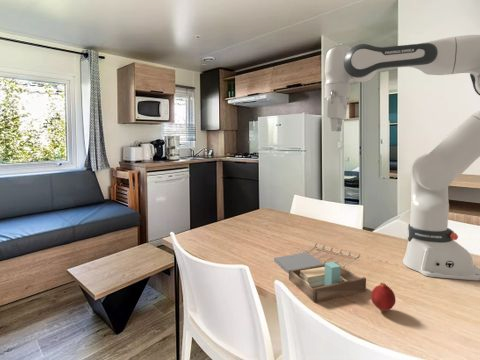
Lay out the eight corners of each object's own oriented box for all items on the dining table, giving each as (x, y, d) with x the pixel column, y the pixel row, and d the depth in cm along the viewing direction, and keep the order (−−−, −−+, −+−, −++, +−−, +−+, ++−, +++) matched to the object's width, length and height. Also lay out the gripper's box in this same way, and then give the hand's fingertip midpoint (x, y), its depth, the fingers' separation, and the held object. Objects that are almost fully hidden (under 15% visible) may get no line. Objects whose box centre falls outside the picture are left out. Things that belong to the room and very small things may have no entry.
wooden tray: (288, 279, 99) (288, 267, 99) (334, 270, 105) (334, 259, 104) (314, 302, 85) (314, 289, 84) (365, 290, 90) (366, 278, 90)
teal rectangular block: (324, 288, 93) (324, 263, 92) (332, 286, 94) (333, 261, 93) (331, 293, 90) (331, 267, 88) (339, 291, 91) (340, 266, 89)
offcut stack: (296, 279, 99) (296, 270, 98) (330, 272, 103) (330, 263, 102) (307, 288, 93) (307, 278, 92) (342, 280, 97) (342, 271, 97)
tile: (274, 260, 114) (274, 257, 114) (306, 255, 118) (306, 252, 118) (292, 276, 101) (292, 273, 101) (328, 269, 105) (328, 266, 105)
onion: (380, 302, 84) (381, 275, 83) (399, 312, 79) (401, 284, 78) (365, 308, 81) (366, 280, 80) (385, 319, 76) (386, 290, 75)
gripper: (341, 88, 100) (340, 130, 102) (349, 95, 119) (349, 131, 120) (322, 90, 103) (321, 131, 105) (333, 97, 121) (332, 132, 123)
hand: (336, 131), depth 113 cm, fingers open, 8 cm apart
